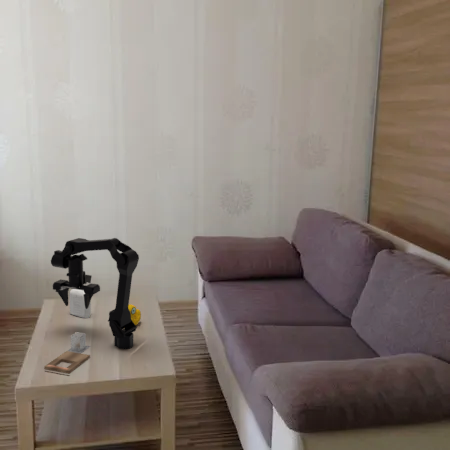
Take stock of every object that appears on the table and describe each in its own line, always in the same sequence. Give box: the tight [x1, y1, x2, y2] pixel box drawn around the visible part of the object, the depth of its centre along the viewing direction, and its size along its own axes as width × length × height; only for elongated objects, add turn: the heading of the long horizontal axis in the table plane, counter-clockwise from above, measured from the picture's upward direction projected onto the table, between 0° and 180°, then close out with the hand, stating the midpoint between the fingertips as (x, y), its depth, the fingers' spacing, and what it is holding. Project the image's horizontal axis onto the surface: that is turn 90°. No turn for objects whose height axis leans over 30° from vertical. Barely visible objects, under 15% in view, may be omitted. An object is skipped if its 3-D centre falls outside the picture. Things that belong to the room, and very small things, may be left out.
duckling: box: [128, 303, 142, 326], centre depth 246 cm, size 11×5×10 cm, turn 151°
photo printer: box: [69, 289, 92, 319], centre depth 257 cm, size 10×4×12 cm, turn 60°
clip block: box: [70, 331, 87, 352], centre depth 220 cm, size 4×4×6 cm
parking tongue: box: [67, 345, 92, 354], centre depth 221 cm, size 6×8×1 cm
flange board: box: [43, 350, 91, 377], centre depth 208 cm, size 10×14×2 cm
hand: (76, 307), depth 232 cm, fingers open, 9 cm apart
